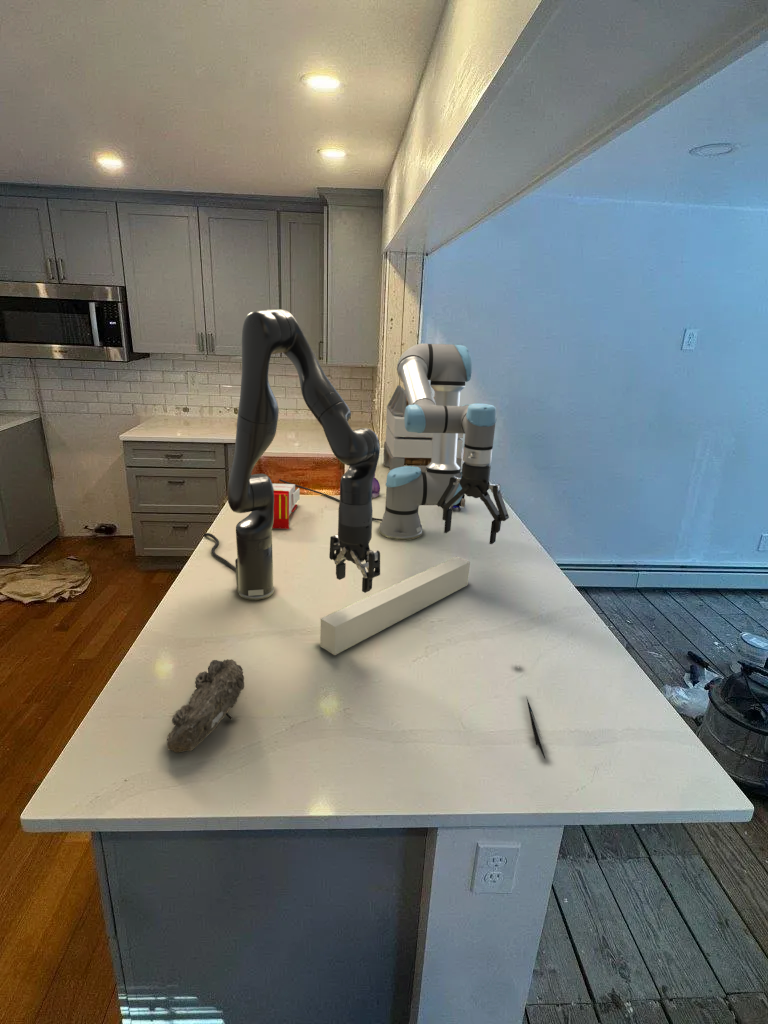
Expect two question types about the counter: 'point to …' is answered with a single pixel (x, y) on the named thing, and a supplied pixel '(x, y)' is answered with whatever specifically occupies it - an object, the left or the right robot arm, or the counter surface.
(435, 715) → the counter surface
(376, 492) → the figurine
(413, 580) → the beam
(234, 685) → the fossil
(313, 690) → the counter surface
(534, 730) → the feather
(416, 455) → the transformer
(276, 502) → the toy
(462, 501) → the figurine character
